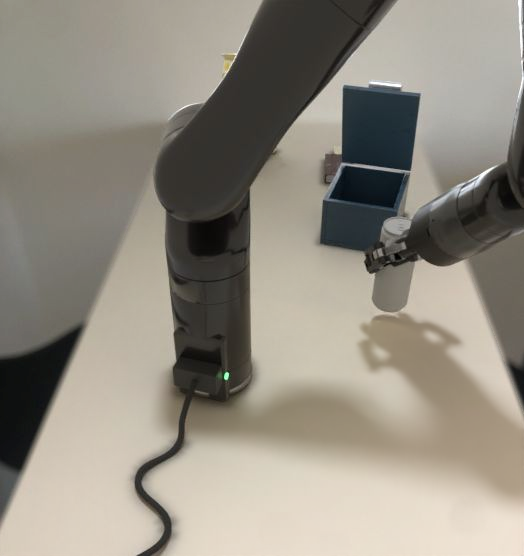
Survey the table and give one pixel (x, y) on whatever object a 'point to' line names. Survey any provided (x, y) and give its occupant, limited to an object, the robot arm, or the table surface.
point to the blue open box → (361, 205)
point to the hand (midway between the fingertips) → (386, 261)
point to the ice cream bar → (333, 164)
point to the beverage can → (393, 272)
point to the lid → (379, 125)
